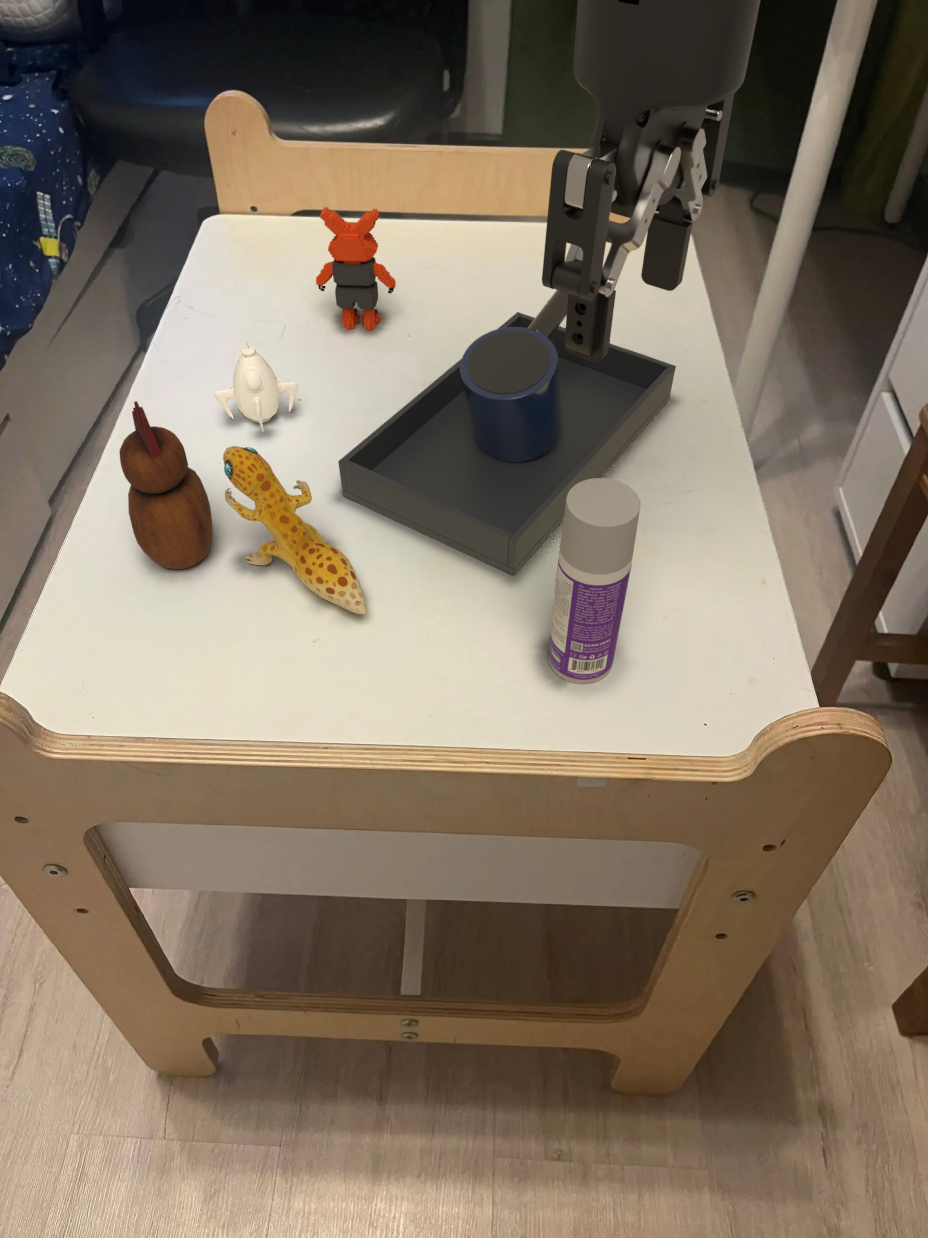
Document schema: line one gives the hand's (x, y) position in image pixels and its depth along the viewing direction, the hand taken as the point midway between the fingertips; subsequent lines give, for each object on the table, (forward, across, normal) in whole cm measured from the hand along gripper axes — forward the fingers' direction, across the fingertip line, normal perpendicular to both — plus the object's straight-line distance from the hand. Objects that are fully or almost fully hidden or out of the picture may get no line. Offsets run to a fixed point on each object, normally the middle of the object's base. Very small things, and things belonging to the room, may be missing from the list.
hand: (624, 318), depth 49 cm
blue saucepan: (+22, -19, -16) cm, 34 cm away
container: (+26, +3, +1) cm, 26 cm away
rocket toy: (+25, -6, -38) cm, 46 cm away
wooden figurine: (+25, +11, -30) cm, 41 cm away
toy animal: (+25, -25, -41) cm, 54 cm away
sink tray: (+25, -16, -16) cm, 34 cm away
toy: (+25, +7, -20) cm, 33 cm away
